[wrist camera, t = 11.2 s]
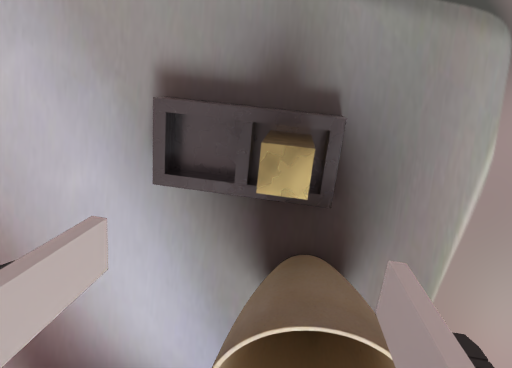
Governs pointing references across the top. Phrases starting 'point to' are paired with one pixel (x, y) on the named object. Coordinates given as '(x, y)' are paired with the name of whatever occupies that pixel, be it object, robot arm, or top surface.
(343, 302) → the plant pot
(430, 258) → the top surface
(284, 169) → the brass block
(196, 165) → the divided tray
